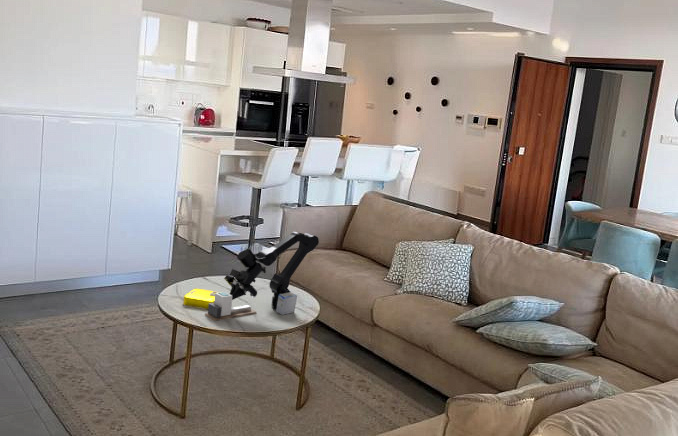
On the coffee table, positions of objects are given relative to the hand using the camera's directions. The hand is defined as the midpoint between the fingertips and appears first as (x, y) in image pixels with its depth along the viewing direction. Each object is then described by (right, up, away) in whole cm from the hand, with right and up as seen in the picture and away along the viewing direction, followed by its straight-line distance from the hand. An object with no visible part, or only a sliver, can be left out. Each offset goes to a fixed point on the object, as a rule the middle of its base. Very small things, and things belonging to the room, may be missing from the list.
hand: (228, 300), depth 303 cm
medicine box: (+24, -7, +14) cm, 29 cm away
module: (-3, -6, -1) cm, 6 cm away
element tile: (-14, -3, +14) cm, 20 cm away
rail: (+1, -6, +3) cm, 6 cm away
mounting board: (+1, -6, +3) cm, 7 cm away
